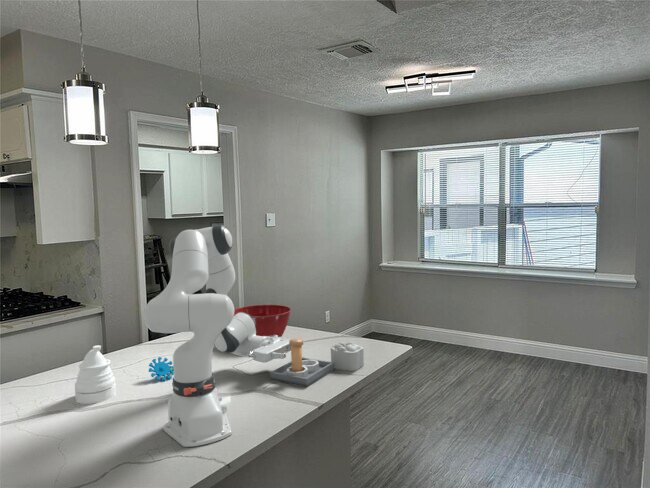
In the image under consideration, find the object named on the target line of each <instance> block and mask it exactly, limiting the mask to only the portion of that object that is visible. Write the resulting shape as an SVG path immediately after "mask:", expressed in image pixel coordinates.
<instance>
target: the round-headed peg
mask: <svg viewBox="0 0 650 488" xmlns="http://www.w3.org/2000/svg"><path fill="white" fill-rule="evenodd" d="M290 339H291V340H289V345H290V346H291V351H290V354H291V356H290V357H291V361H292V372H301V371H302V357H303V345H304V339H302V338H290ZM291 361H290V362H291Z"/></svg>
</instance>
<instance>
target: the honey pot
mask: <svg viewBox="0 0 650 488" xmlns="http://www.w3.org/2000/svg"><path fill="white" fill-rule="evenodd" d="M101 350H102V345H98V344H97V345H94V346H92V349H90V350H89V351H88V352H87V353H86V354H85V356H84V358H83V360H82V362H81V363H80V364H79V365H78V368H79V371H78V373H77V375H76V376H77V377H76V380H75V381H76V382H75V383H74V395H75V402H76V403H77V402H78V404H81V405H82V404H83V405H89V404H91V403H92V404H97V403H102V402H106V401H108V400H111V399H112V398H114V397H115V396H117V386H116V385H117V384H116V377H115V376H114V373H113V372H112V369H111V367H110V365H111V363H112V362H111V360H110V359H108V358H105V357H104V355H103V353H101ZM92 404H91V405H92Z"/></svg>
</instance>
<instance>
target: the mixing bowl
mask: <svg viewBox="0 0 650 488" xmlns="http://www.w3.org/2000/svg"><path fill="white" fill-rule="evenodd" d="M239 312H243V313H247V314H249V315H250V316H251V317H252V318H253V319H254V322H255V326H256V335H257V336H271V335H278V337H283V335H284V333H285V331H286V328H287V325H288V322H289V319H290V315H291V312H292V308H291V307H290V306H287V305H283V304H282V305H281V304H254V305H248V306H242V307H238V308H234V316H235V315H236V314H237V313H239Z"/></svg>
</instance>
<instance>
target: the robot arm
mask: <svg viewBox="0 0 650 488" xmlns="http://www.w3.org/2000/svg"><path fill="white" fill-rule="evenodd" d="M232 247H233V236H232V234H231V232H230V231H229V229H228V228H227V227H226V226H225V225H223V224H216V225H213V226H209V227H203V228H199V229H185V230H182V231H181V232H180V233H178V235H175V236H174V237H172V238H171V239H170V241H169V244H168V252H169V255H170V257H171V259H172V260H171V261H172V262H171V265H172V266H171V274H170V279H169V282H168V284H167V285H166V286H165V288H164V289H163V290H162V291H161V292H160V293H159V294H158V295H156V296H155V297H153V298H152V299H150V300H149V301H148V303H147V304H146V305H145V308H144V311H143V320H144V321H143V322H144V324H145V325H146V328H148V329H149V330H150V331H151V332H152V333H160V334H176V333H177V334H178V333H189V332H191V333H193V336H192V337H191V339H189V340H187V341H186V342H184V343H182V344H181V345H179V346H178V347H177V348H176V349H175V350H174V352H173V355H172V366H173V369H174V374H173V378H172V383H171V385H172V391H173V393H172V395H171V396H170V398H169V399H168V401H167V405H168V406H167V407H168V408H167V411H168V413H167V415H168V417H167V418H168V419H167V420H168V422H166V423H164V425H163V426H162V431H164V432H165V433H166V434H167V435H168V436H170V437H171V438H172V439H174V440H175V441H176V442H177V443H178V444H179V445H181V446H182V447H184V448H186V447H187V448H188V447H198V446H202V445H203V446H204V445H207V444H213V443H215V442H218V441H220V440H224V439H225V438H228V437H229V436H231V435H232V428H231V424H230V422H229V418H228V416H227V411H228V410H227V405H226V403H225V404H221V402H222V401H223V398H222V396H219V394H218V388H216V385H215V384H216V383H215V381H216V380H215V377H214V373H213V370H212V369H213V365H212V364H213V363H212V359H213V350H214V347H215V348H216V350H218V351H219V352H221V353H223V354H234V355H235V356H239V357H246V358H252V359H253V361H256V362H259V363H263V364H264V363H268V362H271V361H272V360H279V359H281V360H283V359H286V356H287V355H286V354H288V353H289V352H291V346H290V345H289V340H291V339H292V338H289V337H285V336H281V337H278V335H271V336H257V335H256V326H255V322H254V319H253V318H252V317H251V316H250V315H249V314H247V313H243V312H239V313H237V314H236V315H235V316H234V310H235V306H234V303H233V301H232V299H231V298H230V297H229V296H228V293H229V292H230V290H231V289H232V288H233V285H234V284H235V281H236V270H235V268H234V264H233V262H232V260H231V257H230V255H229V252H230V251H231V250H232ZM204 286H205V292H204V293H196V292H198V291H200V290H201V289H203V288H204Z"/></svg>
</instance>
